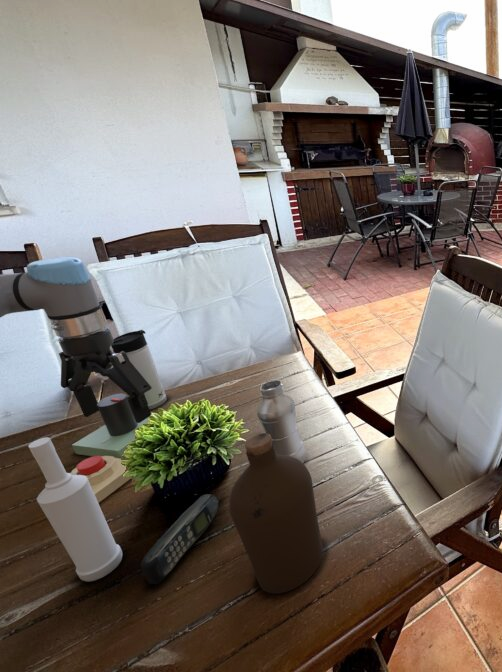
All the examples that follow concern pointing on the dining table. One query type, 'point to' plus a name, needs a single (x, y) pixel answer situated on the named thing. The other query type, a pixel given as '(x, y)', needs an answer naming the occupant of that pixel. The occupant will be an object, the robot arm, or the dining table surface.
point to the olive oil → (276, 517)
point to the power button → (90, 465)
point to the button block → (106, 477)
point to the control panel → (105, 443)
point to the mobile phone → (179, 539)
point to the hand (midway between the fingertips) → (118, 416)
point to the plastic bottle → (280, 420)
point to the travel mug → (142, 364)
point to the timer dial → (117, 414)
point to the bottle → (75, 515)
